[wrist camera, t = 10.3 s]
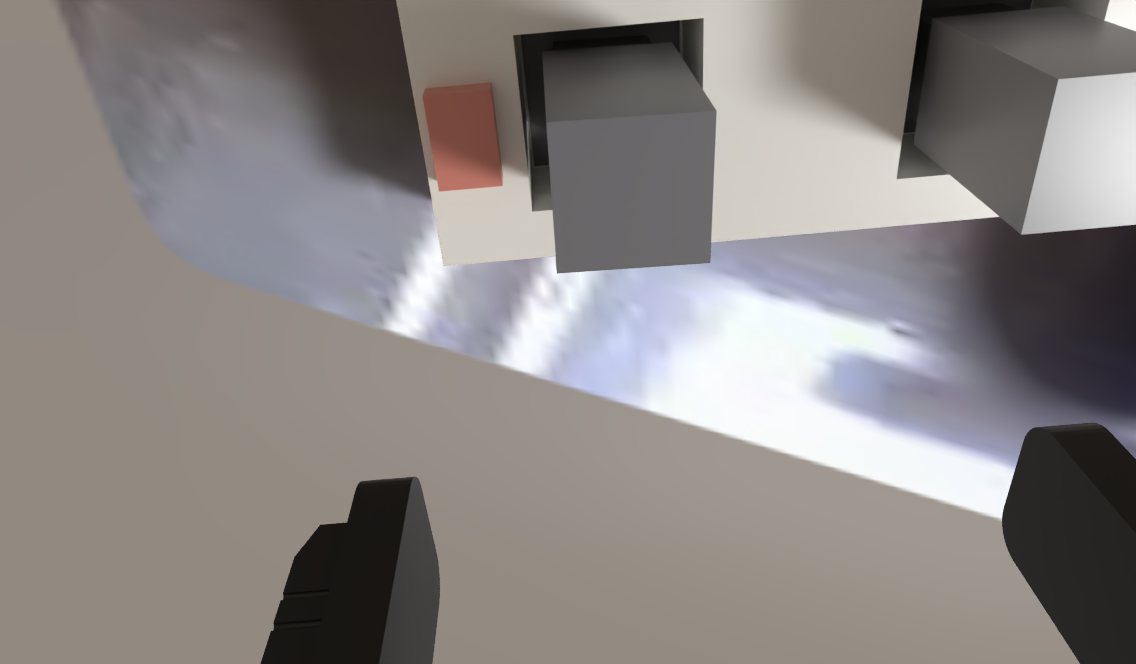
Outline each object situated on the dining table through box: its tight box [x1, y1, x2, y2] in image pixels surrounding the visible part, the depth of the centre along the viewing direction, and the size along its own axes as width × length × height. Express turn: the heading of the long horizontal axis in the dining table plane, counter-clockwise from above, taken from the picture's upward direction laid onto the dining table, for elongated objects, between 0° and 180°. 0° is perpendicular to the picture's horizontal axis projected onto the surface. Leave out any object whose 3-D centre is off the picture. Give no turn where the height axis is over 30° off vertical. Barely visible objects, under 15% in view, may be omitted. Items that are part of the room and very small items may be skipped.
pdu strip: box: [396, 0, 1136, 266], centre depth 27 cm, size 9×24×6 cm, turn 94°
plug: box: [542, 35, 717, 273], centre depth 24 cm, size 4×4×10 cm
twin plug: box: [906, 3, 1136, 235], centre depth 24 cm, size 4×4×10 cm
